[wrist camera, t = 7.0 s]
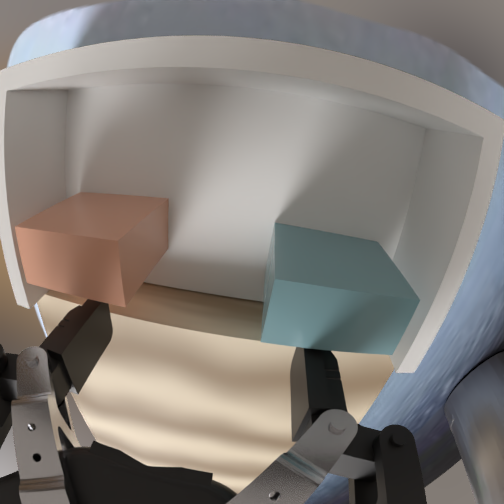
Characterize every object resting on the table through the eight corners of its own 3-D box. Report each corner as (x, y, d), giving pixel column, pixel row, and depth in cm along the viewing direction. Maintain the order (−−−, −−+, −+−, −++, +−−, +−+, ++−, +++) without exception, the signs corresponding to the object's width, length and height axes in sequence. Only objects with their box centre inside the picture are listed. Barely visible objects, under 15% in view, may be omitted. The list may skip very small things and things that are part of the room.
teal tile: (264, 271, 14) (274, 222, 13) (362, 286, 14) (377, 241, 13) (260, 342, 10) (274, 278, 9) (392, 355, 10) (420, 299, 9)
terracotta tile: (84, 237, 14) (80, 191, 13) (168, 248, 14) (168, 198, 13) (26, 282, 10) (14, 226, 9) (125, 307, 10) (117, 240, 8)
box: (63, 75, 11) (-4, 72, 6) (439, 114, 11) (505, 120, 6) (66, 260, 16) (17, 304, 11) (384, 309, 15) (413, 372, 11)
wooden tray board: (66, 261, 16) (33, 290, 12) (384, 311, 16) (403, 352, 12) (133, 466, 28) (127, 487, 25) (280, 491, 28) (280, 513, 25)
